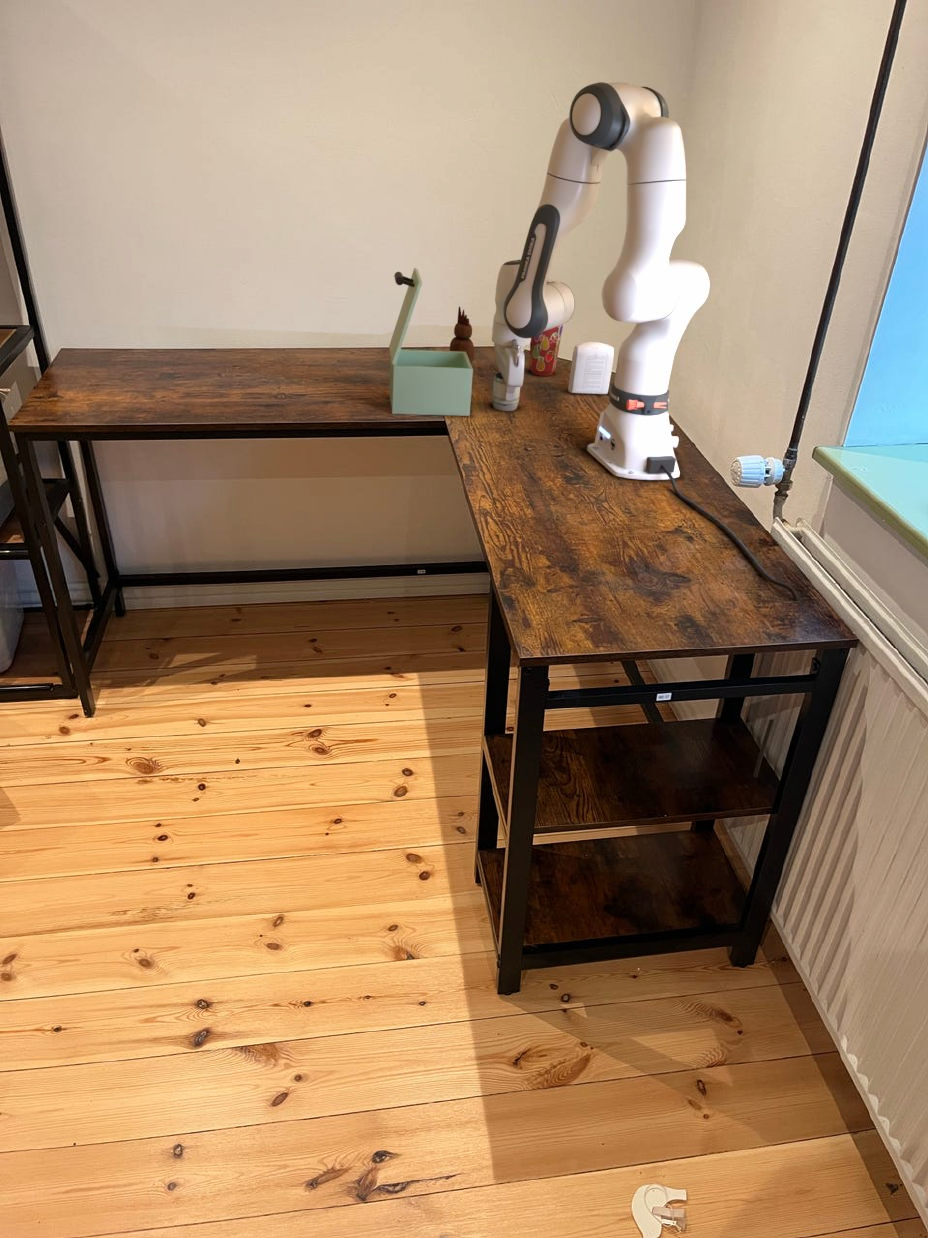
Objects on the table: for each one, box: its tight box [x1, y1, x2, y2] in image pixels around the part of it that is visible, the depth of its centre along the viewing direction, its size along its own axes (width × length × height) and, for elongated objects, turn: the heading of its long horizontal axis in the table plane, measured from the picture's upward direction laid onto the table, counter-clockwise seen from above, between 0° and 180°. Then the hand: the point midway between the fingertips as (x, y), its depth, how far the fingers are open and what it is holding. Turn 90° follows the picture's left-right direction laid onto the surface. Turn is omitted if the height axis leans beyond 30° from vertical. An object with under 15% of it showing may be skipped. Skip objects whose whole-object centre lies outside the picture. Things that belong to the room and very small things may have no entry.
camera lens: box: [491, 372, 521, 412], centre depth 224 cm, size 6×6×8 cm
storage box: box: [388, 348, 474, 417], centre depth 220 cm, size 18×14×11 cm
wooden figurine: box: [449, 306, 475, 364], centre depth 247 cm, size 7×6×15 cm
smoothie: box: [528, 324, 564, 377], centre depth 246 cm, size 8×8×20 cm
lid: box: [388, 267, 423, 365], centre depth 211 cm, size 18×14×5 cm
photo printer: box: [567, 341, 615, 395], centre depth 237 cm, size 10×4×12 cm, turn 98°
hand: (506, 394), depth 224 cm, fingers closed on camera lens, 6 cm apart
